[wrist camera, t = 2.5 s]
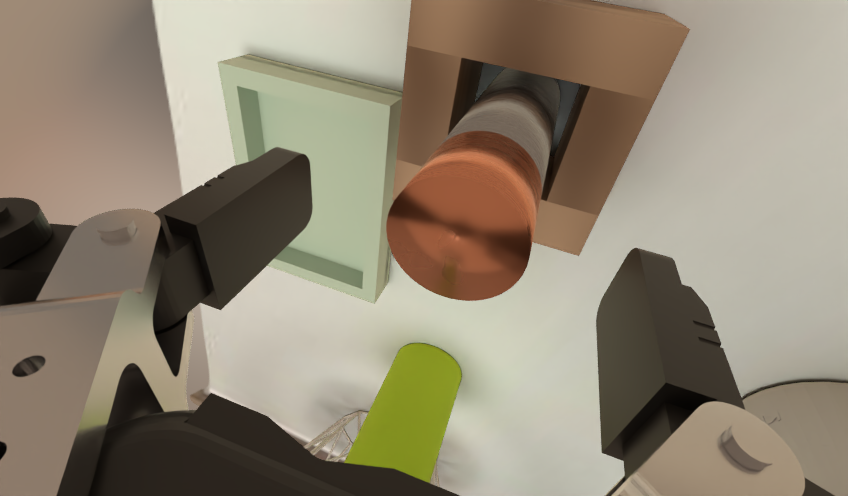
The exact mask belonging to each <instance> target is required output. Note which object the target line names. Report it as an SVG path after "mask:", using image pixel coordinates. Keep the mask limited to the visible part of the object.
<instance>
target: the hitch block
mask: <svg viewBox="0 0 848 496" xmlns="http://www.w3.org/2000/svg"><path fill="white" fill-rule="evenodd" d="M689 30H690V29H689V28H687V27H686V26H684V25H682V24H680V23H679V22H677V21H675V20H674V19H672V18H670V17H669V16H667V15H665V14H661V13H656V12H650V11H645V10H640V9H634V8H629V7H623V6H618V5H612V4H607V3H602V2H596V1H591V0H412V1H411V11H410V22H409V32H408V42H407V53H406V63H405V73H404V84H403V94H402V105H401V115H400V125H399V136H398V146H397V156H396V167H395V177H394V187H393V198H392V200H395V199H396V198H397V196H398V195H399V194H400V193H401V192H402V190H403V189H404V188H405V187H406V185H407V184H408V183H409V182H410V181H411V179H412V178H413V177H414V176H415V175H416V173H417V172H418V171H419V170H420V169H421V167H422V166H423V165H424V164H425V163H426V161H427V160H428V159H429V158H430V156H431V155H432V154H433V153H434V152H435V150H436V149H437V148H438V147H439V146H440V144H441V143H442V142H443V141H444V140H445V138H446V137H447V136H448V135H449V133H450V132H451V131H452V130H453V129H454V127H455V126H456V125H457V124H458V123H459V121H460V120H461V119H462V118H463V117H464V115H465V114H466V113H467V112H468V111H469V109H470V108H471V107H472V106H473V104H474V102H475V97H476V93H477V88H478V83H479V78H480V74H481V69H482V64H483V62H484V63H489V64H493V65H498V66H502V67H507V68H511V69H516V70H520V71H525V72H529V73H533V74H538V75H542V76H547V77H551V78H556V79H560V80H565V81H569V82H574V83H578V84H581V85H580V88H579V91H578V93H577V96H576V99H575V102H574V104H573V107H572V110H571V112H570V115H569V118H568V121H567V123H566V126H565V129H564V132H563V134H562V137H561V140H560V143H559V145H558V148H557V151H556V153H555V156H554V157H552V156H549V160H548V165H547V170H546V175H545V180H544V186H543V191H542V196H541V201H540V206H539V211H538V216H537V221H536V226H535V231H534V236H533V241H532V242H534V243H538V244H541V245H544V246H548V247H551V248H554V249H558V250H561V251H564V252H568V253H571V254H574V255H578V256H579V254H580V252H581V250H582V248H583V246H584V244H585V242H586V240H587V238H588V236H589V234H590V232H591V230H592V228H593V226H594V224H595V222H596V220H597V218H598V216H599V214H600V212H601V210H602V207H603V205H604V203H605V201H606V199H607V197H608V195H609V193H610V191H611V189H612V187H613V185H614V183H615V181H616V179H617V177H618V175H619V173H620V171H621V169H622V167H623V165H624V163H625V161H626V159H627V156H628V154H629V152H630V150H631V148H632V146H633V144H634V142H635V140H636V138H637V136H638V134H639V132H640V130H641V128H642V126H643V124H644V122H645V120H646V118H647V116H648V114H649V112H650V110H651V108H652V105H653V103H654V101H655V99H656V97H657V95H658V93H659V91H660V89H661V87H662V85H663V83H664V81H665V79H666V77H667V75H668V73H669V71H670V69H671V67H672V65H673V63H674V61H675V59H676V57H677V54H678V52H679V50H680V48H681V46H682V44H683V42H684V40H685V38H686V36H687V34H688V32H689Z"/></svg>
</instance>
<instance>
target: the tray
mask: <svg viewBox="0 0 848 496" xmlns="http://www.w3.org/2000/svg"><path fill="white" fill-rule="evenodd" d="M218 67H219V72H220V78H221V84H222V89H223V95H224V100H225V106H226V111H227V117H228V123H229V128H230V134H231V139H232V145H233V150H234V156H235V162H236V165H239V164H242V163H246V162H249V161H253V160H255V159H256V158H258V157H259V156H261V155H263V154H264V153H266V152H268V151H269V150H271V149H273V148H275V147H280V148H284V149H287V150H291V151H295V152H298V153H302V154H305V155H306V156H307V157H308V159H309V161H310V170H311V187H312V205H313V209H312V215H311V218H310V221H309V223H308V225H307V226H306V228H305V229H304V230H303V231H302V232H301V233H300V234H299V235H298V236H297V237H296V238H295V239H294V240H293V241H292V242H291V243H290V244H289V245H288V246H286V247H285V248H284V249H283V250H282V251H281V252H280V253H279V254H278V255H277V256H276V257H275V258H274V259H273V260H272V261H271V262H270V263H269V264H268V265H267V266H269V267H272V268H275V269H278V270H281V271H284V272H286V273H289V274H292V275H295V276H298V277H301V278H303V279H306V280H309V281H312V282H315V283H318V284H320V285H323V286H326V287H329V288H332V289H335V290H337V291H340V292H343V293H346V294H349V295H351V296H354V297H357V298H360V299H363V300H366V301H368V302H371V303H374V304H375V302H376V301H377V299H378V298H379V296H380V294H381V293H382V291H383V290H384V288H385V286H386V285H387V283H388V277H389V267H390V258H391V249H390V246H389V243H388V239H387V232H386V223H387V217H388V213H389V210H390V208H391V206H392V204H393V202H394V200H392V198H393V187H394V177H395V167H396V156H397V146H398V136H399V125H400V115H401V105H402V94H403V93H402V92H398V91H394V90H390V89H386V88H382V87H378V86H374V85H370V84H366V83H361V82H357V81H353V80H349V79H345V78H341V77H337V76H333V75H329V74H325V73H321V72H317V71H313V70H309V69H305V68H301V67H296V66H292V65H288V64H284V63H280V62H276V61H272V60H268V59H264V58H260V57H256V56H252V55H244V56H240V57H236V58H232V59H228V60H224V61H220V62H218Z"/></svg>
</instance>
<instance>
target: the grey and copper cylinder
mask: <svg viewBox="0 0 848 496" xmlns="http://www.w3.org/2000/svg"><path fill="white" fill-rule="evenodd" d="M559 104H560V89H559V86H558V83H557V81H556V79H555V78H551V77H547V76H542V75H538V74H533V73H529V72H525V71H520V70H516V69H511V68H506V69H504V70H503V71H502V72H500V73H499V74H498V75H497V77H496V78H495V79H494V80H493V81H492V83H491V84H490V85H489V86H488V88H487V89H486V90H485V91H484V92H483V94H482V95H481V96H480V97H479V98H478V100H477V101H476V102H475V103H474V104H473V106H472V107H471V108H470V109H469V111H468V112H467V113H466V114H465V115H464V117H463V118H462V119H461V120H460V121H459V123H458V124H457V125H456V126H455V127H454V129H453V130H452V131H451V132H450V133H449V135H448V136H447V137H446V138H445V140H444V141H443V142H442V143H441V144H440V146H439V147H438V148H437V149H436V150H435V152H434V153H433V154H432V155H431V156H430V158H429V159H428V160H427V161H426V163H425V164H424V165H423V166H422V167H421V169H420V170H419V171H418V172H417V173H416V175H415V176H414V177H413V178H412V179H411V181H410V182H409V183H408V184H407V185H406V187H405V188H404V189H403V190H402V192H401V193H400V194H399V195H398V196H397V198H396V199H395V200H394V202H393V204H392V206H391V208H390V210H389V213H388V217H387V223H386V232H387V239H388V243H389V246H390V249H391V251H392V254H393V256H394V257H395V259H396V261H397V262H398V264H399V265H400V267H401V268H402V269H403V270H404V271H405V272H406V274H408V275H409V276H410V277H411V278H412V279H413V280H414V281H416V282H417V283H418V284H420V285H421V286H423V287H424V288H426V289H428V290H430V291H432V292H434V293H436V294H439V295H441V296H444V297H448V298H451V299H457V300H466V301H473V300H483V299H488V298H492V297H494V296H497V295H500V294H502V293H503V292H505V291H507V290H508V289H510V288H511V287H512V286H513V285H514V284H515V283H516V282H517V281H518V280H519V279H520V278H521V276H522V275H523V273H524V271H525V269H526V267H527V264H528V261H529V256H530V251H531V246H532V241H533V236H534V231H535V226H536V221H537V216H538V211H539V206H540V201H541V196H542V191H543V186H544V180H545V175H546V170H547V165H548V160H549V155H550V150H551V145H552V140H553V135H554V130H555V125H556V120H557V115H558V110H559Z"/></svg>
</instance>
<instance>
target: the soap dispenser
mask: <svg viewBox="0 0 848 496" xmlns="http://www.w3.org/2000/svg"><path fill="white" fill-rule="evenodd" d="M461 377H462V374H461V370H460V367H459V365H458V364H457V362H456V361H455V360H454V359H453V358H452V357H451V356H450V355H449V354H447V353H446V352H444V351H443V350H441V349H439V348H437V347H434V346H431V345H427V344H421V343H413V344H408V345H406V346H404V347H402V348H401V349H400V350H399V352H398V354H397V356H396V358H395V360H394V362H393V364H392V366H391V368H390V370H389V372H388V374H387V376H386V378H385V380H384V382H383V384H382V386H381V388H380V390H379V392H378V394H377V396H376V399H375V401H374V403H373V405H372V407H371V409H370V411H369V413H368V415H367V417H366V419H365V421H364V423H363V425H362V427H361V429H360V431H359V433H358V435H357V437H356V439H355V441H354V443H353V445H352V447H351V449H350V452H349V454H348V456H347V458H346V460H345V462H344V463H350V464H358V465H367V466H376V467H385V468H394V469H396V470H399V471H401V472H404V473H406V474H408V475H411V476H413V477H416V478H418V479H421V480H423V481H425V482H428V483H430V480H431V477H432V473H433V470H434V467H435V463H436V460H437V457H438V454H439V450H440V447H441V444H442V440H443V437H444V434H445V431H446V427H447V424H448V421H449V418H450V414H451V411H452V408H453V404H454V401H455V398H456V395H457V391H458V388H459V385H460V381H461Z"/></svg>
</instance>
